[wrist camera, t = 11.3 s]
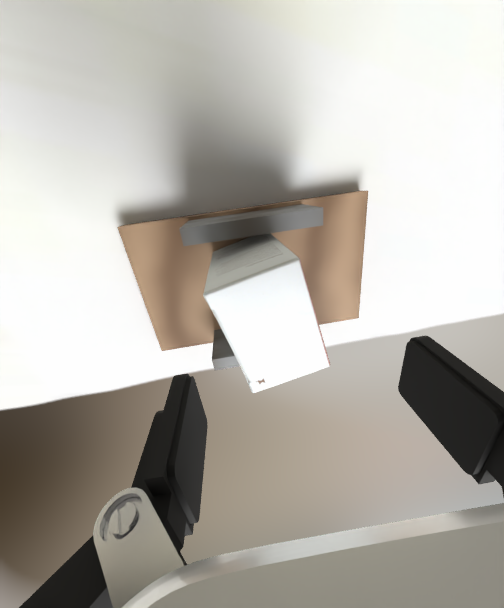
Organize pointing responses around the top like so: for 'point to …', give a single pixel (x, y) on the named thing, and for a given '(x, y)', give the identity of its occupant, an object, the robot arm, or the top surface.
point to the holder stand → (233, 228)
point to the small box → (265, 311)
